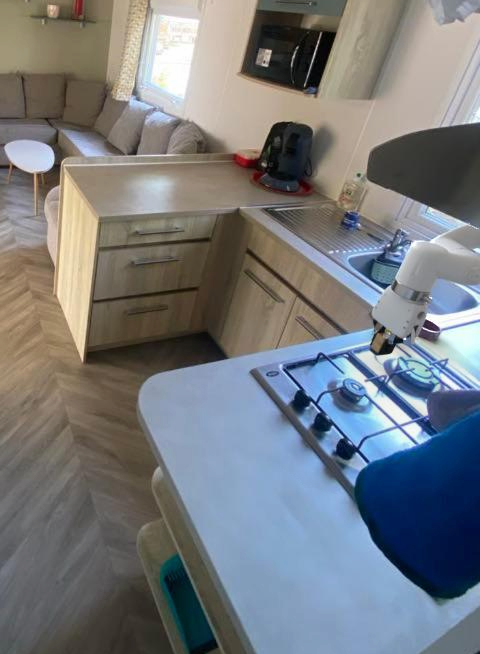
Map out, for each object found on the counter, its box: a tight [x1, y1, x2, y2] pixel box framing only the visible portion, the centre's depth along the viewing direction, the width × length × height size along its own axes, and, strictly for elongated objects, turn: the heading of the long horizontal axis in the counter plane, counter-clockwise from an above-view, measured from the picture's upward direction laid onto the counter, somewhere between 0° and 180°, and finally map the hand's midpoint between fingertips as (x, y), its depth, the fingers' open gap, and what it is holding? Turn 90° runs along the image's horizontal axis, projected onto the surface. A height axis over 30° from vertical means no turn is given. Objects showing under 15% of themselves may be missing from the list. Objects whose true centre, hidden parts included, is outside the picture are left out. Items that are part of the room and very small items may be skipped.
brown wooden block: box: [368, 332, 391, 357], centre depth 109 cm, size 4×2×6 cm, turn 104°
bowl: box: [417, 318, 443, 341], centre depth 128 cm, size 8×8×3 cm
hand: (379, 349), depth 109 cm, fingers closed on brown wooden block, 2 cm apart
